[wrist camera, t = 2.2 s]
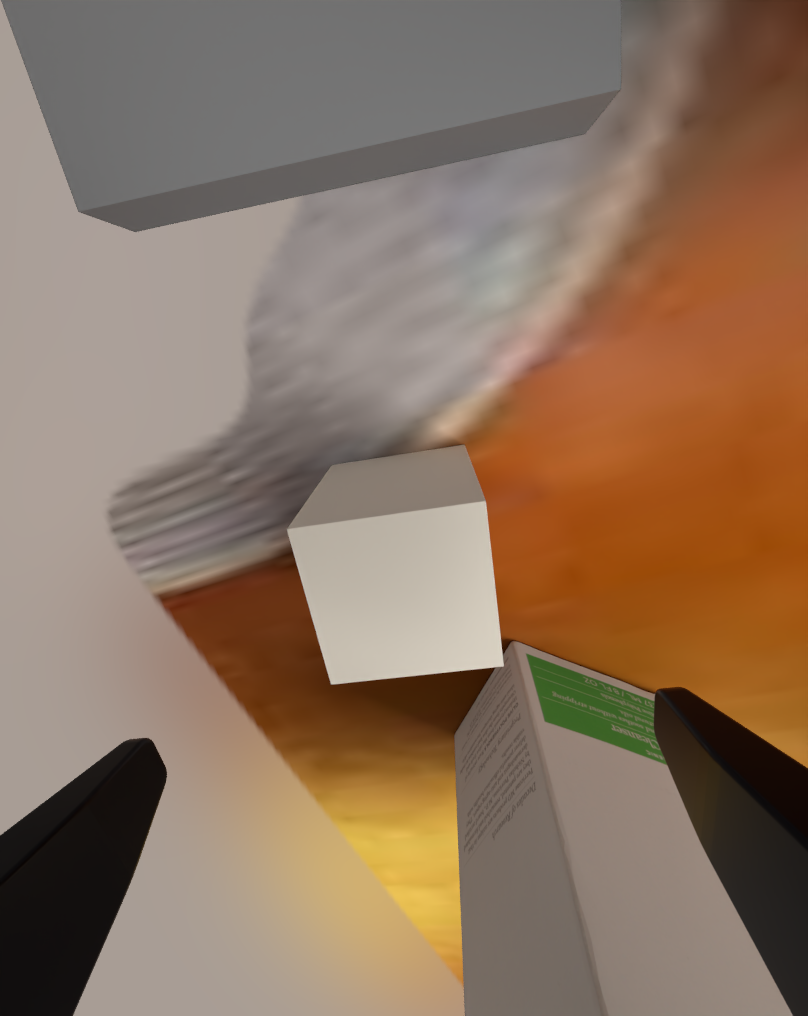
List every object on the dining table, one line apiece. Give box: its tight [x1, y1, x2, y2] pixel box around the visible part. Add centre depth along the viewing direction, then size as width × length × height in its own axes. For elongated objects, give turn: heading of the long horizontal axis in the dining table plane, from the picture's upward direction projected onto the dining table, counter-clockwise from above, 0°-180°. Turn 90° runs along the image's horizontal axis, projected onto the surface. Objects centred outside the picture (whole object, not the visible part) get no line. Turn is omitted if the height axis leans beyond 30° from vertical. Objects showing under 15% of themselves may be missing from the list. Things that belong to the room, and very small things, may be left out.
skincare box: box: [454, 641, 793, 1016], centre depth 14 cm, size 8×7×16 cm
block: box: [287, 445, 504, 685], centre depth 15 cm, size 5×5×6 cm
